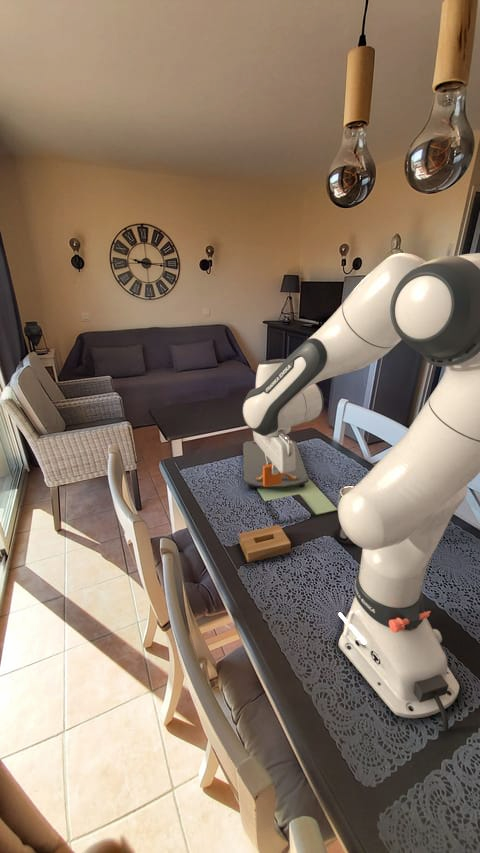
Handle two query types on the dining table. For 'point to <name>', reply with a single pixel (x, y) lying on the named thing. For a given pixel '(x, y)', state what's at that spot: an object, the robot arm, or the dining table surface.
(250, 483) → the serving tray
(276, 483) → the block
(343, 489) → the beer glass
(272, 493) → the mat
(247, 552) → the token holder
